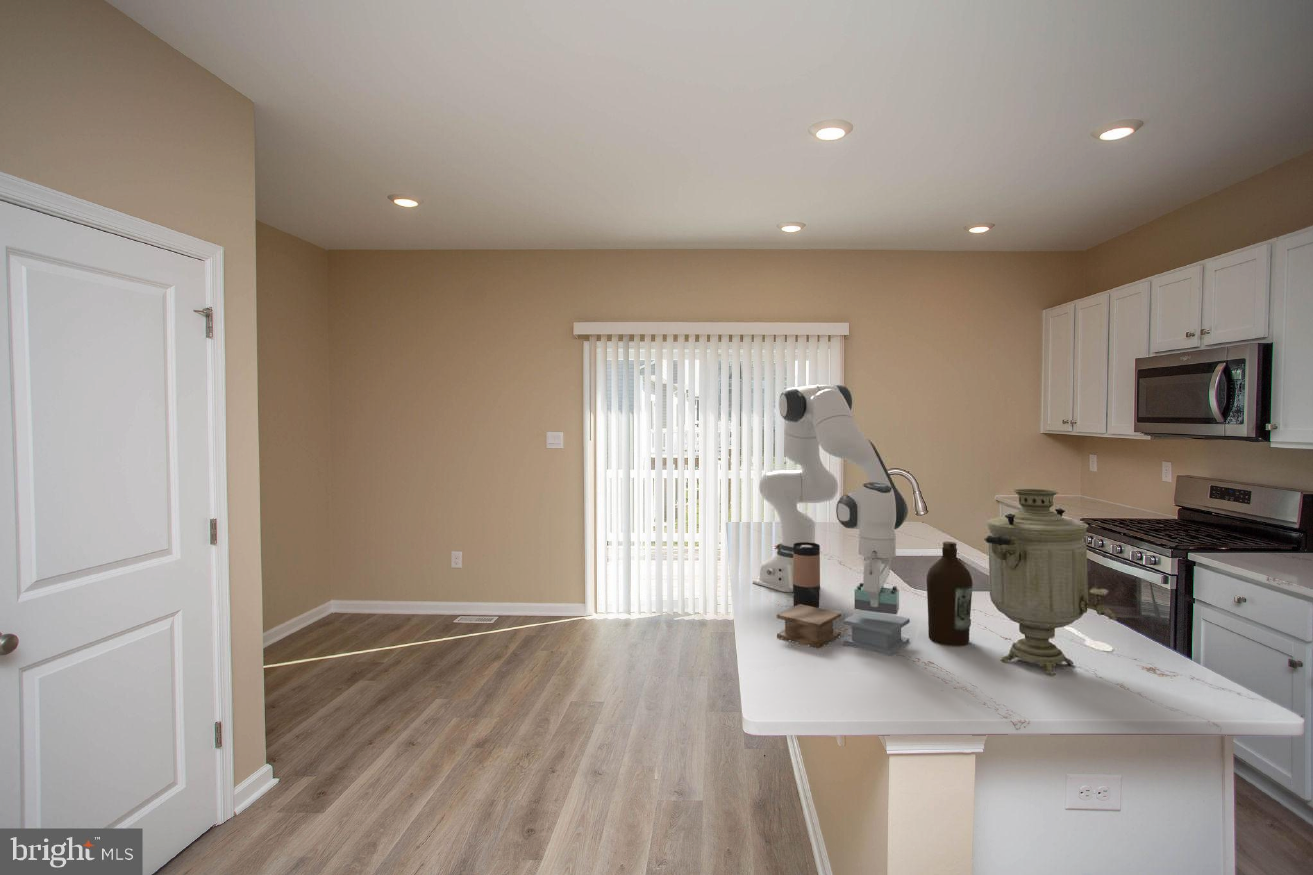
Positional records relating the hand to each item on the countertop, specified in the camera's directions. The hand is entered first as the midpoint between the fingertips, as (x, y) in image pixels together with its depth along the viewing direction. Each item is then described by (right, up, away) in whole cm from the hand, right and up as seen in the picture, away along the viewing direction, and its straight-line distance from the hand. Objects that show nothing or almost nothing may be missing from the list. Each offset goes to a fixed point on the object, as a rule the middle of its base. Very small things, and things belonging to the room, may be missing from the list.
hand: (876, 602), depth 159 cm
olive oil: (+19, -10, +2) cm, 22 cm away
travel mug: (-12, -10, +24) cm, 29 cm away
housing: (0, -2, 0) cm, 2 cm away
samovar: (+33, -11, -15) cm, 38 cm away
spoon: (+54, -10, +3) cm, 56 cm away
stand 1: (-16, -10, +5) cm, 20 cm away
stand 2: (0, -10, 0) cm, 10 cm away
